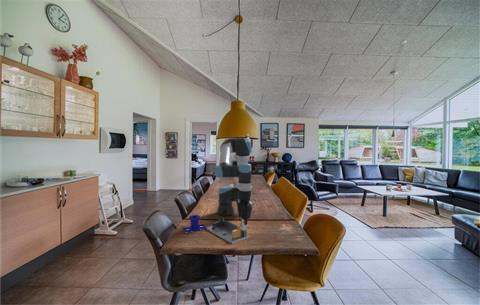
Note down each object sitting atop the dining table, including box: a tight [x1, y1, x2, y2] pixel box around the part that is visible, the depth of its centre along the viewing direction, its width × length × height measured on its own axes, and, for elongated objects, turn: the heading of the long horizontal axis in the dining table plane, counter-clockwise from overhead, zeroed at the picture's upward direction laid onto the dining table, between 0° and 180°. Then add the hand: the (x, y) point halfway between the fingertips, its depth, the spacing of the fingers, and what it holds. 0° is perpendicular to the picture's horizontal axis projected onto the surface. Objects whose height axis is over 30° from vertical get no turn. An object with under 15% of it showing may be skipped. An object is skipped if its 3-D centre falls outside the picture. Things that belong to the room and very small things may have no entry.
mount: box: [181, 214, 208, 233], centre depth 145 cm, size 15×8×9 cm, turn 122°
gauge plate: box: [205, 216, 250, 245], centre depth 139 cm, size 28×14×7 cm, turn 42°
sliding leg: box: [232, 223, 242, 239], centre depth 132 cm, size 3×11×7 cm, turn 132°
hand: (244, 229), depth 124 cm, fingers closed
